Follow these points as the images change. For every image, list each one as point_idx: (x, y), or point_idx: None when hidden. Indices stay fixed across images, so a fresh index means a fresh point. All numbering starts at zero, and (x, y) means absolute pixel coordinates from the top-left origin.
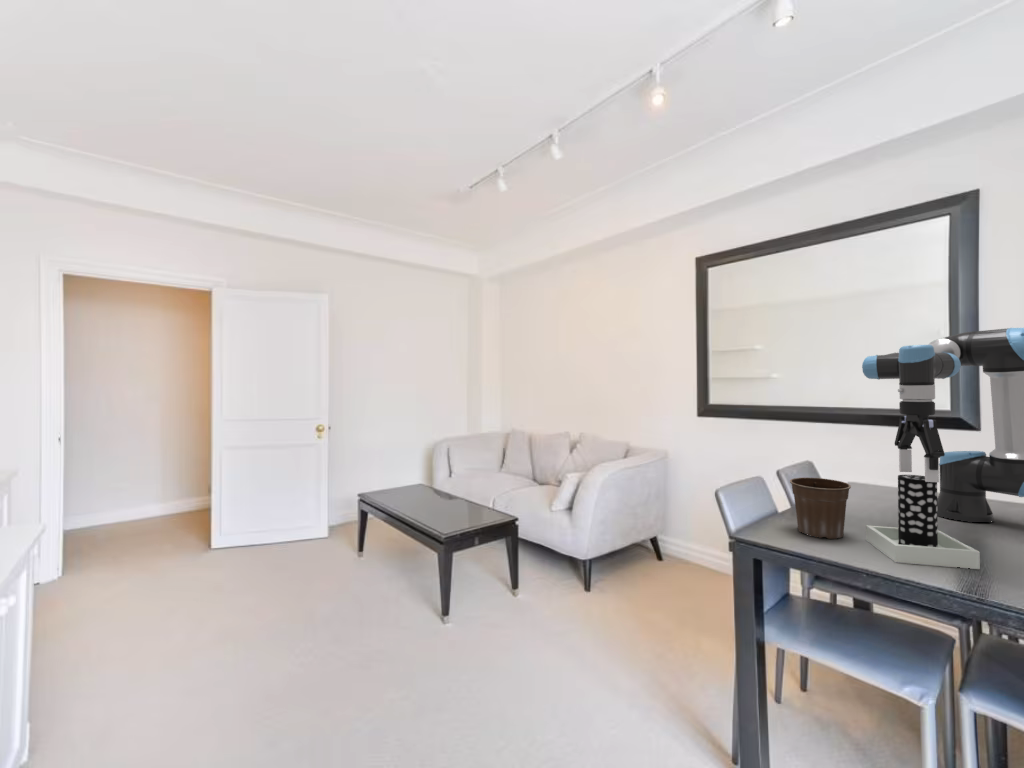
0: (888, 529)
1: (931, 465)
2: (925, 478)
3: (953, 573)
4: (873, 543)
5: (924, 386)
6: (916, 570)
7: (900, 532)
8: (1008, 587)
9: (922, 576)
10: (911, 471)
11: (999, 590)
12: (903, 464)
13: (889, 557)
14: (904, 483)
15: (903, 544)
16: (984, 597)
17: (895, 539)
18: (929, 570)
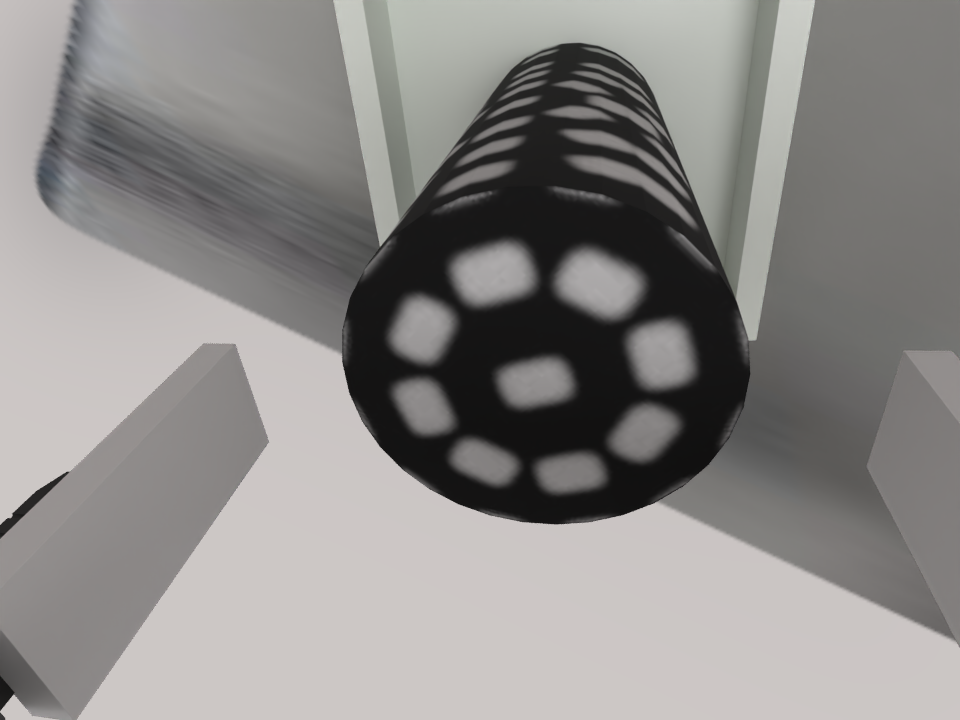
0: (769, 47)
1: (16, 522)
2: (203, 363)
3: (314, 173)
4: None
5: None
6: (272, 9)
7: (553, 58)
8: (247, 294)
9: (193, 4)
10: (870, 471)
11: (195, 249)
12: (945, 465)
13: None
14: (444, 189)
15: (534, 56)
16: (80, 160)
17: (747, 82)
18: (305, 79)
